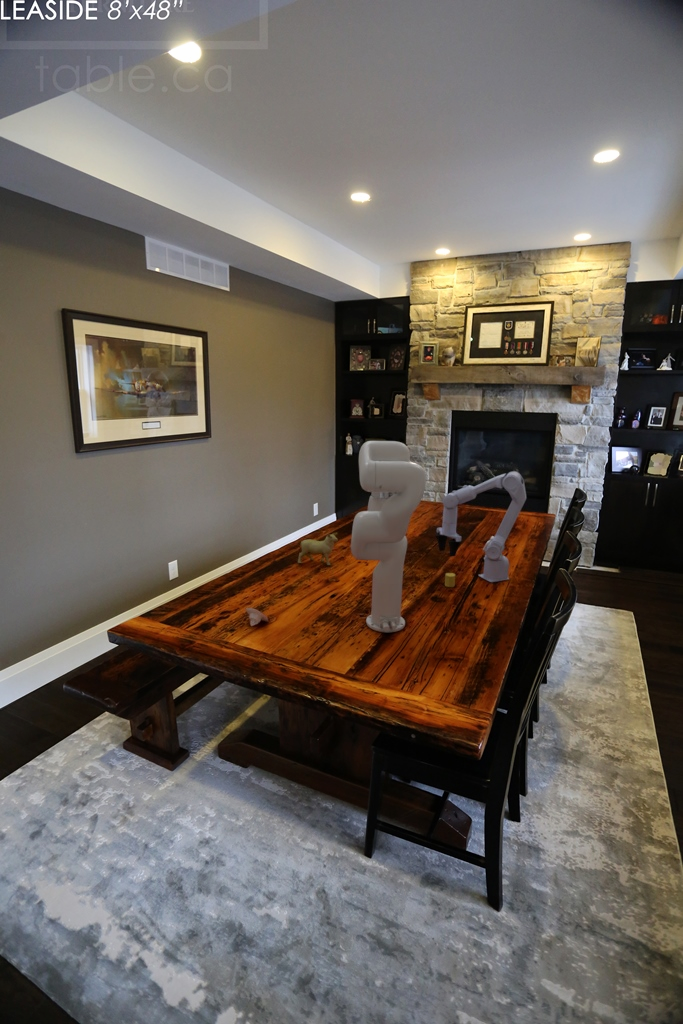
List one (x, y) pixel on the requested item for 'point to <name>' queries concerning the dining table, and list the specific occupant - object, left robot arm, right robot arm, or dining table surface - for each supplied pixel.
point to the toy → (318, 548)
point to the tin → (449, 579)
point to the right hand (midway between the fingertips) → (447, 553)
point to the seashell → (255, 616)
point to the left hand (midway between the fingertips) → (379, 538)
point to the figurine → (487, 544)
